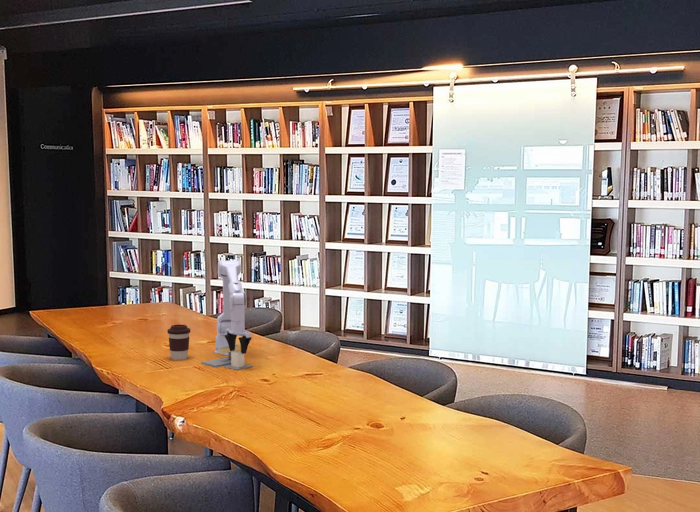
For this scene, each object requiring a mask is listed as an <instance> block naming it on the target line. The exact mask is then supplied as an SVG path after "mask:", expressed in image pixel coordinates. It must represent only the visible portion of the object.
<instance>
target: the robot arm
mask: <svg viewBox="0 0 700 512" xmlns="http://www.w3.org/2000/svg"><path fill="white" fill-rule="evenodd" d="M241 271H242V264H241V261H240V260H239V259H238V260H234V259H233V260H231V259H230V260H221V259H220V260H218V262H217V276H218V278H220V279H221V280H222V313H220V315H218V316H217V318H216V332H217V334H216V336H215V350H214V351H213V352H214V354H219V355H222V356H223V355H224V356H228V353H224V354H223V353H219V348H223V347H228V346H229V349H230V351H233V352H235V351H234V350H235V345H237V341H236V340H237V336H239V337H238V340H239V345H241V350H240V352H241V353H242V354H244V355H245V354H247V351H248V347H249V344H250V342H251V340H252V332H250V331H247V330H245V328H246V327H245V325H246V324H245V321H246V317H245V310H246V309H245V308H246V307H245V306H246V304H247V294H246V292H245V291H244V290H243V287H242V283H241V281H239V280H238V279H239V275H240V274H241Z"/></svg>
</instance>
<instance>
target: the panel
mask: <svg viewBox="0 0 700 512" xmlns="http://www.w3.org/2000/svg"><path fill="white" fill-rule="evenodd" d="M201 365H204V366H208V367H211V368H212V367H213V368H215V367H216V368H220V367H224V366H226V365H231V352H228V355H227V356H224V357H221V358H220V357H219V358H215V359H211V360H205V361H201Z"/></svg>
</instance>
